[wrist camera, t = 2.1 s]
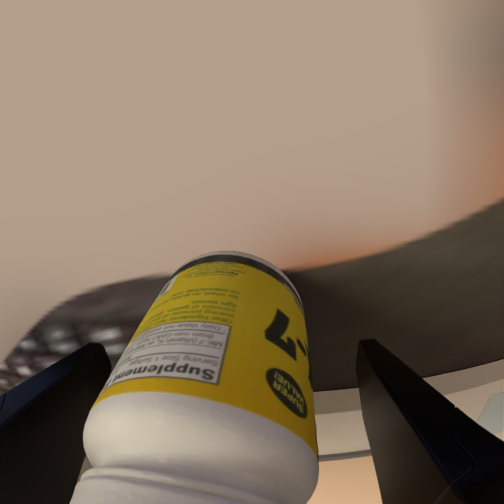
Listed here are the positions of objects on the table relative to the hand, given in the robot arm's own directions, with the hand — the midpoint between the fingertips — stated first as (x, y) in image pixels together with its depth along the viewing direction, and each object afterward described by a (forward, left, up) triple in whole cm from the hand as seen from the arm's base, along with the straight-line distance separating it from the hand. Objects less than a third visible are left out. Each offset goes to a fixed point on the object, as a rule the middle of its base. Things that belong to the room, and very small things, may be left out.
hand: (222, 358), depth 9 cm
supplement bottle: (0, 0, -2) cm, 2 cm away
